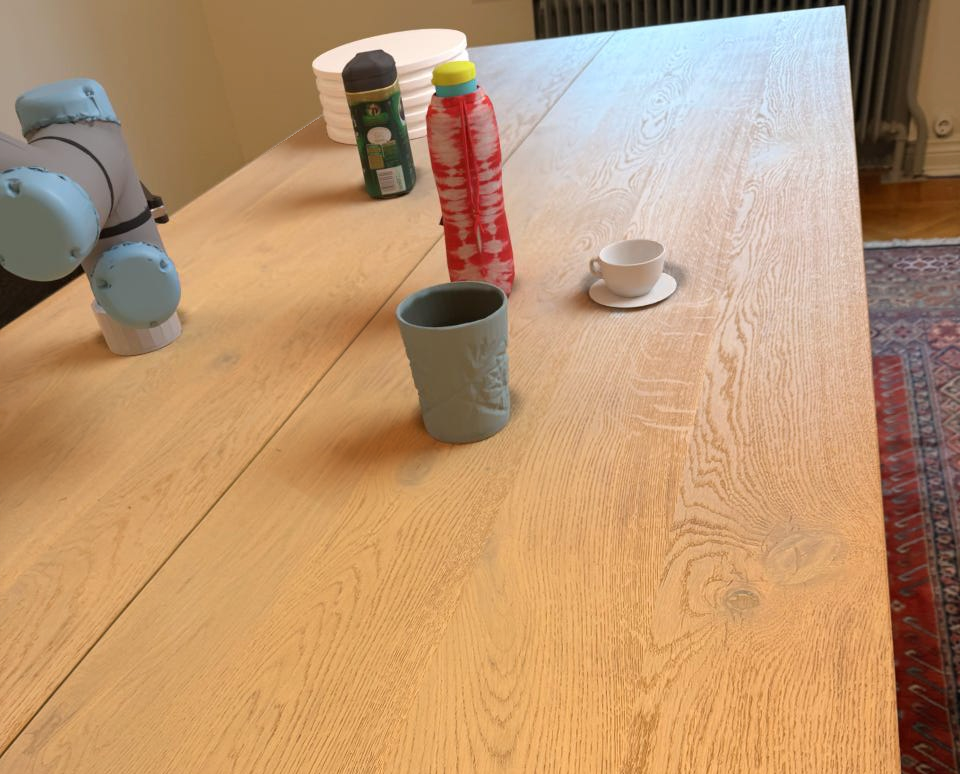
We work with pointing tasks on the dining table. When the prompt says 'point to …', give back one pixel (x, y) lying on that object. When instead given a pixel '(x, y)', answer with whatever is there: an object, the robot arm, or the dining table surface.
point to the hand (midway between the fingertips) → (84, 189)
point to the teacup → (631, 274)
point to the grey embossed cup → (458, 358)
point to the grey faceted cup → (135, 334)
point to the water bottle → (469, 177)
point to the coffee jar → (379, 123)
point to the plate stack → (414, 72)
